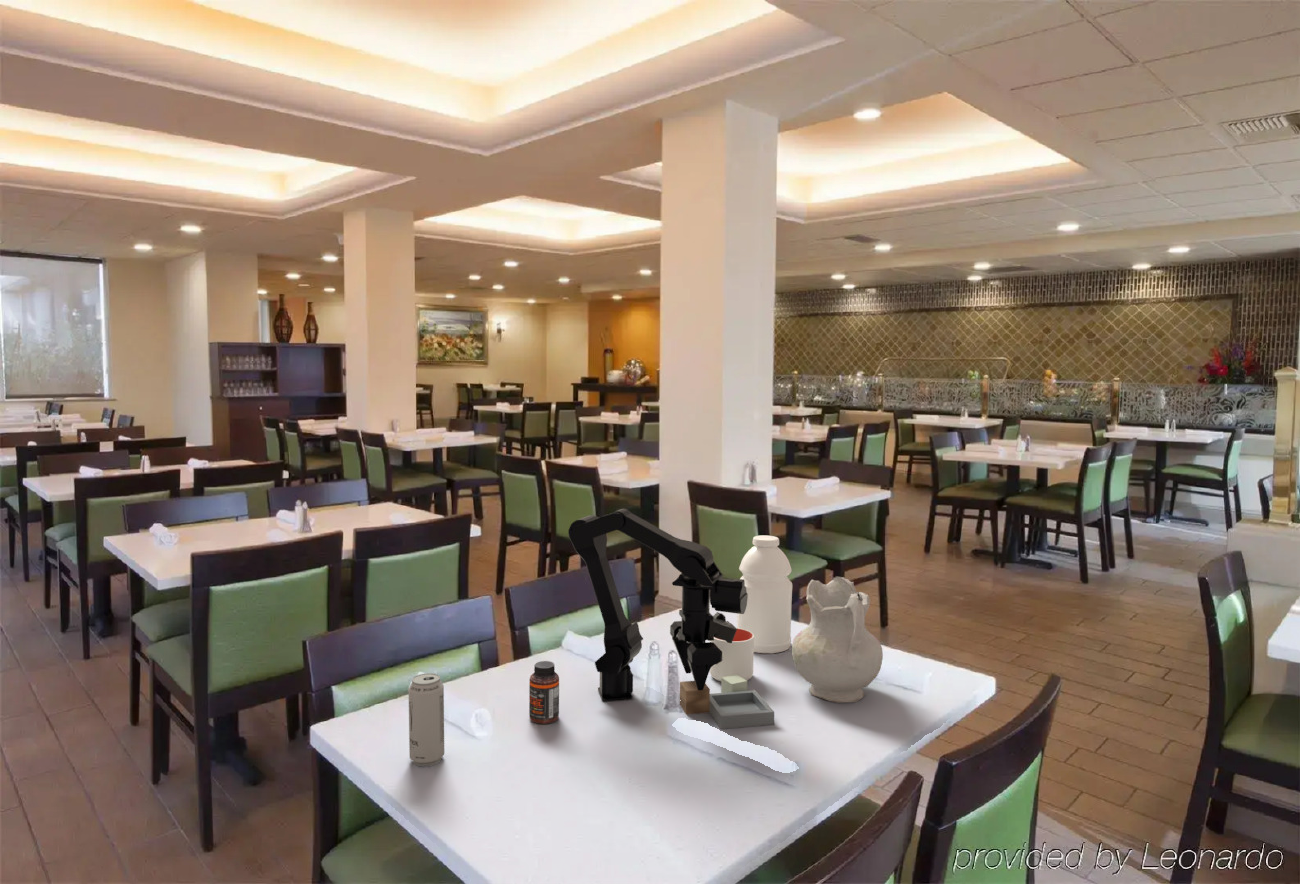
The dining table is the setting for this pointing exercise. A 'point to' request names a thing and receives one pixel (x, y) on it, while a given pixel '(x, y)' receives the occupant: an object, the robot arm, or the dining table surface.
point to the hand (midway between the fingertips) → (694, 681)
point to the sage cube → (733, 684)
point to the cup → (735, 656)
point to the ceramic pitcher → (837, 643)
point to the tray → (740, 709)
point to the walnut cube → (694, 698)
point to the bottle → (767, 595)
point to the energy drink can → (426, 719)
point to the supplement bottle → (544, 693)
